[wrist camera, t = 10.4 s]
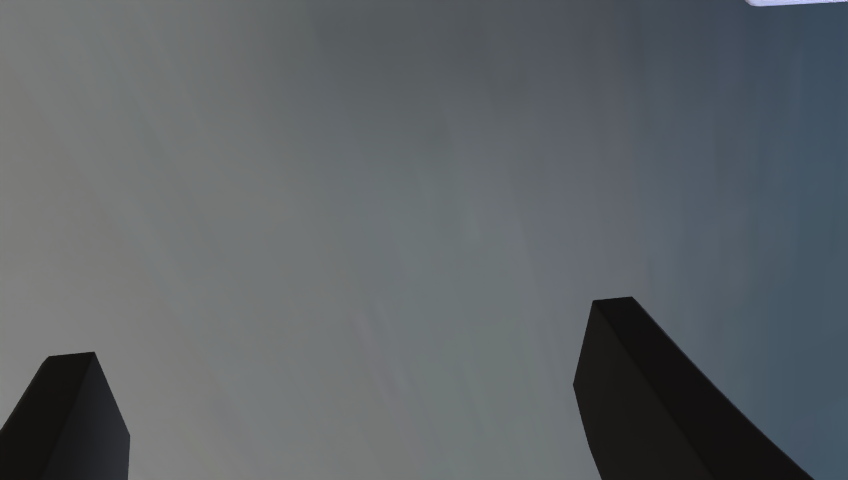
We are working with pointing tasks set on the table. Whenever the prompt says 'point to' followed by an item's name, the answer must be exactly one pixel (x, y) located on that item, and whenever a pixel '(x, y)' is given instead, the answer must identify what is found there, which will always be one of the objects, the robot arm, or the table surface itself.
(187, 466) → the table surface
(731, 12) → the table surface
